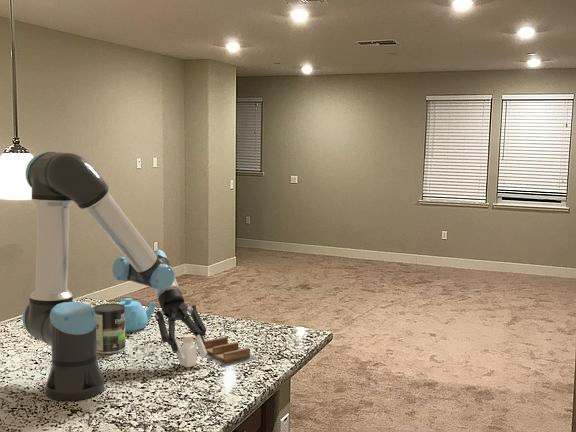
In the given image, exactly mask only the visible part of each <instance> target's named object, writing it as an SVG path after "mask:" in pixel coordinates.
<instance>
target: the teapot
mask: <svg viewBox="0 0 576 432" xmlns="http://www.w3.org/2000/svg"><path fill="white" fill-rule="evenodd" d="M116 304H122V305H124V306H125V333H130V332H137V331H141V330H143V329H144V328H145V327H146V326H147V325H148V323H149V321H150V320H151V317H152V315H153V313H154V311H155V308H156V306H157V302H156V301H155V302H154V301H153V302H152V301H151V302H150V304H149V306H148V307H147V309H146V310H145V308H144V306H143V305H142V304H141V302H140V301H137V300H133V298H131V297H127V298H120V301H119V302H117V303H116Z"/></svg>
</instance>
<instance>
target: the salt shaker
mask: <svg viewBox="0 0 576 432" xmlns="http://www.w3.org/2000/svg"><path fill="white" fill-rule="evenodd" d="M180 346H181V349H182V352H183V354H184V357H185V359H184V360H183V361H182V362H181V363H180V362H179V365H180V366H182V367H185V368H190V367H193V366H196V365H197V364H198V363H197V362H198V361H197V359H198V358H197V353H198V352H197V350H196V349H197V345H196V344H194V334H193V333H185V334H182V345H181V344H180Z"/></svg>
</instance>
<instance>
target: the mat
mask: <svg viewBox="0 0 576 432" xmlns="http://www.w3.org/2000/svg"><path fill="white" fill-rule="evenodd" d="M228 344H229V342H228ZM239 349H241V348H240V347H239ZM196 350H197V353H198V354H200V352H199V349H198V348H196ZM205 357H206V358H207V359H209V360H210V361H212V362H214V363H216V364H217V365H219V366H221V367H223V368H225V367H230V366H233V365H234V366H235V365H238V364H241V363H242V364H243V363H248V362H251V361H255V360H259V357H257V356H255V355H253V354H251V353H250V358H247V359H242V360H238V361H234V362H230V363H226V364H225V363H224V362H222V361H220V360H218V359H217V358H215V357H213V356H211V355H209V354H208V353H207V354H206V355H205ZM205 357H204V358H205Z"/></svg>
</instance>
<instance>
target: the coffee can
mask: <svg viewBox="0 0 576 432" xmlns="http://www.w3.org/2000/svg"><path fill="white" fill-rule="evenodd" d="M92 308H93V309H94V310H95V315H96V320H97V324H96V342H97V354H100V355H101V354H102V355H112V354H118V353H121V352H123V351H125V350H126V348H127V347H126V332H125V306H124V305H122V304H117V303H115V302H114V303H112V302H111V303H103V304H102V303H101V304H97V305H95V306H92Z"/></svg>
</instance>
